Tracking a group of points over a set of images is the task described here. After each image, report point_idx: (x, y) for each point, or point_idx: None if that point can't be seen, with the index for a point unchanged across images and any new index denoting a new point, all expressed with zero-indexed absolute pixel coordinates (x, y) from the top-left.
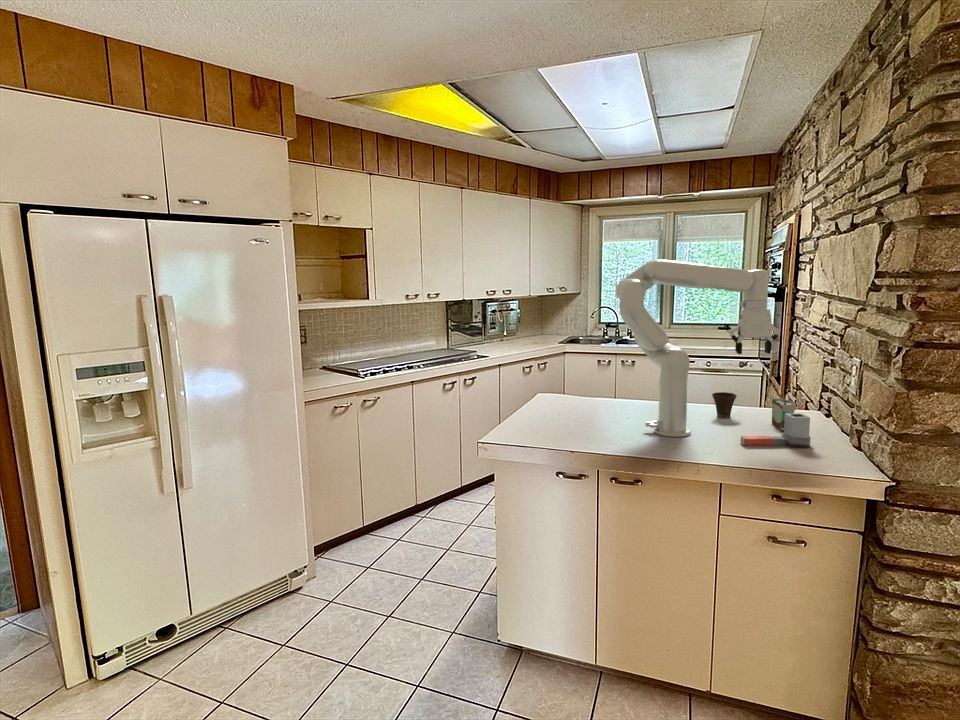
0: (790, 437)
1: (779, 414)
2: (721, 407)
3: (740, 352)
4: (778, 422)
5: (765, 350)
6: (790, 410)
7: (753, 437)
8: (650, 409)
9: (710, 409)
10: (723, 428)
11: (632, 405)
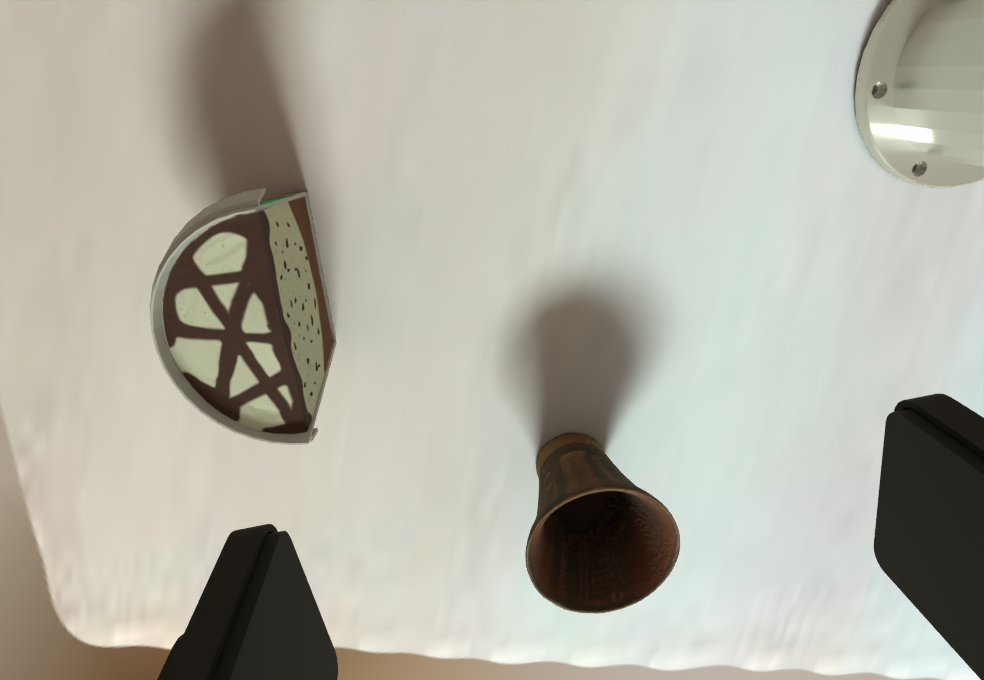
0: None
1: (290, 257)
2: (609, 464)
3: (953, 407)
4: (305, 251)
5: (320, 676)
6: (205, 208)
7: None
8: None
9: None
10: (627, 221)
11: None
